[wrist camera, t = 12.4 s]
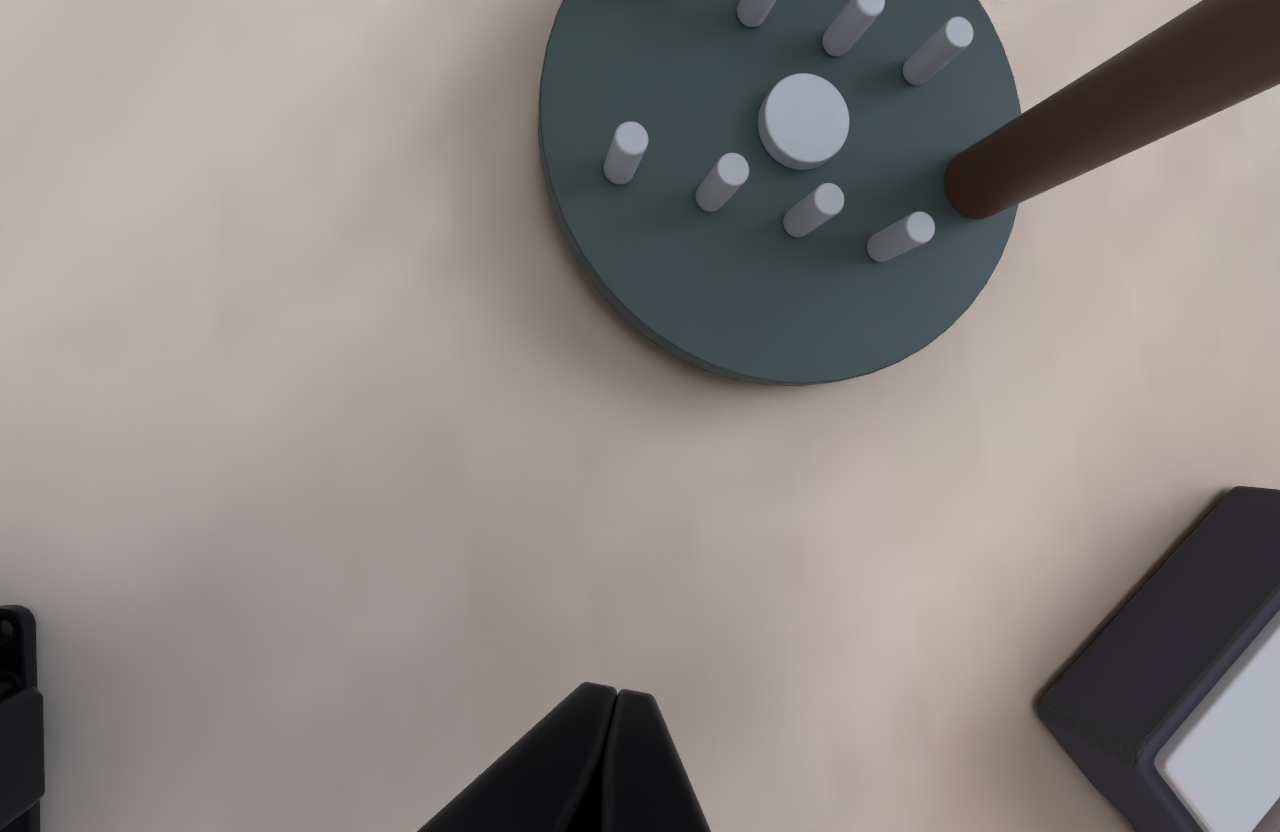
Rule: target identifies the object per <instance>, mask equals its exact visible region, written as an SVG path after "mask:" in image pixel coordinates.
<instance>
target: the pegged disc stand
mask: <svg viewBox="0 0 1280 832" xmlns="http://www.w3.org/2000/svg"><path fill="white" fill-rule="evenodd" d="M1278 84H1280V0H1202V1H1201V2H1199V3H1198V4H1196V5H1194V6H1193V7H1191V8H1190V9H1188V10H1186V11H1185V12H1183V13H1182V14H1180V15H1179V16H1177V17H1175V18H1174V19H1172V20H1171V21H1169V22H1167V23H1166V24H1164V25H1163V26H1161V27H1159V28H1158V29H1156V30H1155V31H1153V32H1152V33H1150V34H1148V35H1147V36H1145V37H1144V38H1142V39H1140V40H1139V41H1137V42H1136V43H1134V44H1132V45H1131V46H1129V47H1128V48H1126V49H1124V50H1123V51H1121V52H1120V53H1118V54H1117V55H1115V56H1113V57H1112V58H1110V59H1109V60H1107V61H1105V62H1104V63H1102V64H1101V65H1099V66H1097V67H1096V68H1094V69H1093V70H1091V71H1090V72H1088V73H1086V74H1085V75H1083V76H1082V77H1080V78H1078V79H1077V80H1075V81H1074V82H1072V83H1070V84H1069V85H1067V86H1066V87H1064V88H1062V89H1061V90H1059V91H1058V92H1056V93H1055V94H1053V95H1051V96H1050V97H1048V98H1047V99H1045V100H1043V101H1042V102H1040V103H1039V104H1037V105H1035V106H1034V107H1032V108H1031V109H1029V110H1028V111H1026V112H1024V113H1023V114H1021V109H1020V104H1019V99H1018V95H1017V90H1016V86H1015V81H1014V77H1013V74H1012V71H1011V68H1010V65H1009V62H1008V59H1007V57H1006V54H1005V51H1004V48H1003V45H1002V43H1001V41H1000V39H999V37H998V35H997V33H996V31H995V29H994V27H993V24H992V22H991V20H990V18H989V16H988V15H987V13H986V12H985V10H984V8H983V7H982V5H981V3H980V2H979V0H563V2H562V4H561V6H560V8H559V10H558V12H557V14H556V18H555V21H554V24H553V27H552V30H551V33H550V36H549V40H548V43H547V46H546V52H545V57H544V63H543V69H542V75H541V81H540V93H539V117H538V136H539V145H540V155H541V165H542V169H543V174H544V178H545V182H546V186H547V191H548V195H549V199H550V202H551V204H552V207H553V210H554V212H555V215H556V217H557V220H558V223H559V225H560V228H561V231H562V233H563V235H564V237H565V238H566V240H567V242H568V244H569V246H570V248H571V250H572V252H573V254H574V255H575V257H576V259H577V261H578V263H579V264H580V266H581V267H582V268H583V270H584V271H585V273H586V274H587V275H588V277H589V278H590V280H591V281H592V283H593V284H594V285H595V287H596V288H597V290H598V291H599V292H600V293H601V294H602V295H603V296H604V297H605V299H606V300H607V301H608V302H609V303H610V304H611V305H612V306H613V307H614V308H615V309H616V311H617V312H618V313H619V314H620V315H621V316H622V317H623V318H625V319H626V320H627V321H628V322H629V323H630V324H632V325H633V326H634V327H635V328H636V329H638V330H639V331H640V332H641V333H642V334H643V335H645V336H646V337H647V338H649V339H650V340H652V341H653V342H655V343H656V344H658V345H659V346H661V347H662V348H664V349H666V350H667V351H669V352H670V353H672V354H673V355H675V356H677V357H679V358H681V359H683V360H685V361H687V362H689V363H692V364H694V365H696V366H698V367H700V368H702V369H704V370H707V371H710V372H713V373H717V374H720V375H723V376H726V377H729V378H732V379H735V380H741V381H747V382H752V383H758V384H763V385H780V386H803V385H813V384H824V383H830V382H836V381H842V380H846V379H850V378H854V377H858V376H862V375H867V374H871V373H873V372H876V371H878V370H881V369H883V368H886V367H888V366H891V365H893V364H896V363H898V362H900V361H902V360H903V359H905V358H907V357H909V356H910V355H912V354H914V353H916V352H917V351H919V350H921V349H923V348H924V347H926V346H927V345H928V344H929V343H931V342H932V341H933V340H935V339H936V338H937V337H938V336H940V335H941V334H942V333H944V332H945V331H946V330H947V329H949V328H950V326H951V325H952V324H953V323H954V322H955V321H956V320H957V319H958V318H959V317H960V316H961V315H962V314H963V313H964V312H965V311H966V310H967V309H968V308H969V307H970V305H971V304H972V303H973V301H974V300H975V299H976V297H977V296H978V294H979V293H980V292H981V290H982V289H983V288H984V286H985V285H986V284H987V282H988V280H989V278H990V276H991V275H992V273H993V271H994V269H995V267H996V265H997V264H998V262H999V260H1000V258H1001V256H1002V254H1003V251H1004V248H1005V246H1006V243H1007V241H1008V238H1009V236H1010V233H1011V231H1012V227H1013V224H1014V220H1015V216H1016V212H1017V208H1018V204H1019V203H1021V202H1023V201H1025V200H1027V199H1029V198H1031V197H1034V196H1036V195H1038V194H1040V193H1042V192H1045V191H1047V190H1049V189H1051V188H1053V187H1056V186H1058V185H1060V184H1062V183H1064V182H1066V181H1069V180H1071V179H1073V178H1075V177H1077V176H1080V175H1082V174H1084V173H1086V172H1088V171H1091V170H1093V169H1095V168H1097V167H1099V166H1101V165H1104V164H1106V163H1108V162H1110V161H1112V160H1115V159H1117V158H1119V157H1121V156H1123V155H1125V154H1128V153H1130V152H1132V151H1134V150H1136V149H1139V148H1141V147H1143V146H1145V145H1147V144H1150V143H1152V142H1154V141H1156V140H1158V139H1160V138H1163V137H1165V136H1167V135H1169V134H1171V133H1174V132H1176V131H1178V130H1180V129H1182V128H1184V127H1187V126H1189V125H1191V124H1193V123H1195V122H1198V121H1200V120H1202V119H1204V118H1206V117H1209V116H1211V115H1213V114H1215V113H1217V112H1219V111H1222V110H1224V109H1226V108H1228V107H1230V106H1233V105H1235V104H1237V103H1239V102H1241V101H1244V100H1246V99H1248V98H1250V97H1252V96H1254V95H1257V94H1259V93H1261V92H1263V91H1265V90H1268V89H1270V88H1272V87H1274V86H1276V85H1278Z"/></svg>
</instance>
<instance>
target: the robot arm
mask: <svg viewBox="0 0 1280 832" xmlns="http://www.w3.org/2000/svg"><path fill="white" fill-rule="evenodd" d="M3 619H4V620H8V621H9V622H10V623H11V624H12V627H13V631H12V634H11V635H6V634H5V633H3V632H2V630H1V627H0V832H40V800H39V799H40V798H41V797H42V796H43V795H44V792H45V775H44V729H43V696H42V694H41V693H40V692H39V691H38V689H37V662H36V623H35V619H34V616H33V614H32V613H31V612H30V611H29V610H28V609H26V608H24V607H22V606H18V605H5V606H0V626H1V622H2V620H3ZM417 832H711V831H710V828H709V826H708V823H707V821H706V819H705V816H704V814H703V812H702V809H701V807H700V804H699V802H698V800H697V797H696V795H695V793H694V790H693V788H692V785H691V783H690V781H689V778H688V776H687V774H686V771H685V769H684V766H683V764H682V762H681V759H680V757H679V754H678V752H677V750H676V747H675V745H674V743H673V740H672V738H671V735H670V733H669V731H668V728H667V726H666V724H665V721H664V719H663V716H662V714H661V712H660V709H659V707H658V705H657V702H656V700H655V698H654V697H653V696H652V695H651V694H648V693H643V692H638V691H633V690H627V689H622V690H620V691H619V693H618V695H617V690H616V689H615V688H614V687H612V686H606V685H601V684H596V683H591V682H584V683H582V684H581V685H579V686H578V687H577V688H576V689H575V690H574V691H573V692H572V693H571V694H569V695H568V696H567V697H566V698H565V699H564V700H563V701H562V702H561V703H559V704H558V705H557V706H556V707H555V708H554V709H553V710H552V711H551V712H549V713H548V714H547V715H546V716H545V717H544V718H543V719H542V720H541V721H539V722H538V723H537V724H536V725H535V726H534V727H533V728H532V729H531V730H529V731H528V732H527V733H526V734H525V735H524V736H523V737H522V738H521V739H519V740H518V741H517V742H516V743H515V744H514V745H513V746H512V747H511V748H509V749H508V750H507V751H506V752H505V753H504V754H503V755H502V756H501V757H499V758H498V759H497V760H496V761H495V762H494V763H493V764H492V765H491V766H489V767H488V768H487V769H486V770H485V771H484V772H483V773H482V774H481V775H479V776H478V777H477V778H476V779H475V780H474V781H473V782H472V783H471V784H469V785H468V786H467V787H466V788H465V789H464V790H463V791H462V792H461V793H459V794H458V795H457V796H456V797H455V798H454V799H453V800H452V801H451V802H449V803H448V804H447V805H446V806H445V807H444V808H443V809H442V810H441V811H439V812H438V813H437V814H436V815H435V816H434V817H433V818H432V819H431V820H429V821H428V822H427V823H426V824H425V825H424V826H423V827H422V828H421V829H419V830H418V831H417Z"/></svg>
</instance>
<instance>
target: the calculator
mask: <svg viewBox="0 0 1280 832" xmlns="http://www.w3.org/2000/svg"><path fill="white" fill-rule="evenodd" d="M1038 712H1039V715H1040V717H1041V719H1042V720H1043V721H1044V723H1045V724H1046V725H1047V727H1048V728H1049V729H1050V730H1051V732H1052V733H1053V734H1054V736H1055V737H1056V738H1057V739H1058V741H1059V742H1060V743H1061V744H1062V746H1063V747H1064V748H1065V749H1066V751H1067V752H1068V753H1069V755H1070V756H1071V757H1072V758H1073V760H1074V761H1075V762H1076V763H1077V765H1078V766H1079V767H1080V768H1081V770H1082V771H1083V772H1084V774H1085V775H1086V776H1087V777H1088V779H1089V780H1090V781H1091V782H1092V784H1093V785H1094V786H1095V787H1096V788H1097V789H1098V790H1099V791H1100V792H1101V793H1102V794H1103V795H1104V796H1105V797H1106V798H1107V799H1108V800H1109V801H1110V802H1112V803H1113V804H1114V805H1115V806H1116V807H1117V808H1118V809H1119V810H1120V811H1121V812H1122V813H1123V814H1124V815H1125V816H1126V817H1127V818H1128V819H1129V820H1130V822H1131V823H1132V824H1133V825H1134V827H1135V828H1136V829H1137V830H1138V832H1280V490H1276V489H1266V488H1256V487H1245V486H1237V487H1234V488H1233V489H1232V490H1230V491H1229V492H1228V493H1227V495H1226V496H1225V497H1224V498H1223V499H1222V500H1221V501H1220V502H1219V503H1218V504H1217V506H1216V507H1215V508H1214V509H1213V510H1212V511H1211V512H1210V513H1209V514H1208V515H1207V517H1206V518H1205V519H1204V520H1203V521H1202V522H1201V523H1200V524H1199V525H1198V526H1197V528H1196V529H1195V530H1194V531H1193V532H1192V533H1191V534H1190V535H1189V536H1188V538H1187V539H1186V540H1185V541H1184V542H1183V543H1182V544H1181V545H1180V546H1179V547H1178V549H1177V550H1176V551H1175V552H1174V553H1173V554H1172V555H1171V556H1170V557H1169V558H1168V560H1167V561H1166V562H1165V563H1164V564H1163V565H1162V566H1161V567H1160V568H1159V569H1158V571H1157V572H1156V573H1155V574H1154V575H1153V576H1152V577H1151V578H1150V579H1149V581H1148V582H1147V583H1146V584H1145V585H1144V586H1143V587H1142V588H1141V589H1140V590H1139V592H1138V593H1137V594H1136V595H1135V596H1134V597H1133V598H1132V599H1131V600H1130V601H1129V603H1128V604H1127V605H1126V606H1125V607H1124V608H1123V609H1122V610H1121V611H1120V612H1119V614H1118V615H1117V616H1116V617H1115V618H1114V619H1113V620H1112V621H1111V622H1110V624H1109V625H1108V626H1107V627H1106V628H1105V629H1104V630H1103V631H1102V632H1101V633H1100V635H1099V636H1098V637H1097V638H1096V639H1095V640H1094V641H1093V642H1092V643H1091V644H1090V646H1089V647H1088V648H1087V649H1086V650H1085V651H1084V652H1083V653H1082V654H1081V655H1080V657H1079V658H1078V659H1077V660H1076V661H1075V662H1074V663H1073V664H1072V665H1071V667H1070V668H1069V669H1068V670H1067V671H1066V672H1065V673H1064V674H1063V675H1062V676H1061V678H1060V679H1059V680H1058V681H1057V682H1056V683H1055V684H1054V685H1053V686H1052V687H1051V689H1050V690H1049V691H1048V692H1047V693H1046V694H1045V695H1044V696H1043V698H1042V699H1041V701H1040V702H1039V705H1038Z"/></svg>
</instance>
